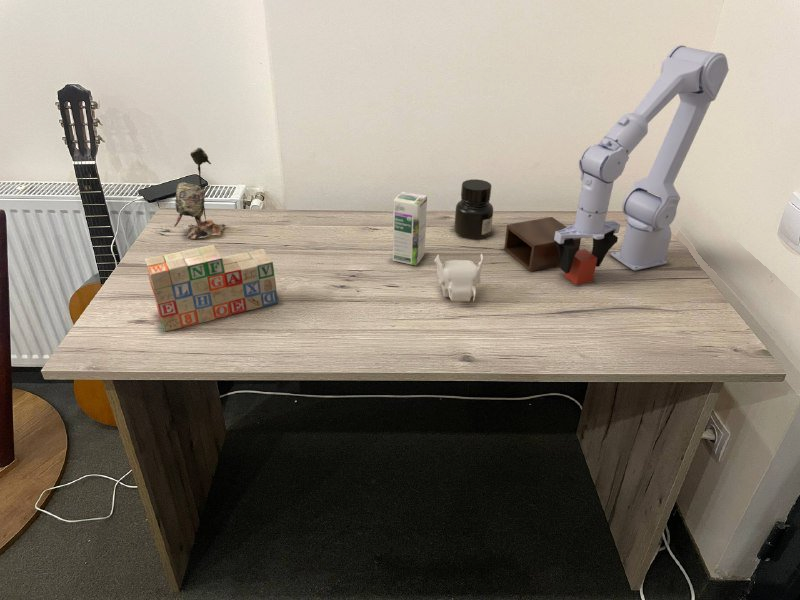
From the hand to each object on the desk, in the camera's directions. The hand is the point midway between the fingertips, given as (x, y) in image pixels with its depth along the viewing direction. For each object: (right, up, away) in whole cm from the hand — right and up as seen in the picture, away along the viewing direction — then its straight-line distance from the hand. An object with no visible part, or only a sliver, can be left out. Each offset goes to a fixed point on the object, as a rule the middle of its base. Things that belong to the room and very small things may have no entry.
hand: (580, 267), depth 125 cm
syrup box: (-36, +2, +8) cm, 37 cm away
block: (0, -2, +1) cm, 3 cm away
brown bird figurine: (-85, +9, +17) cm, 87 cm away
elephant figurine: (-26, -6, -5) cm, 27 cm away
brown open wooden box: (-6, +3, +10) cm, 12 cm away
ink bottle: (-20, +10, +20) cm, 30 cm away
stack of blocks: (-72, -9, -11) cm, 74 cm away
